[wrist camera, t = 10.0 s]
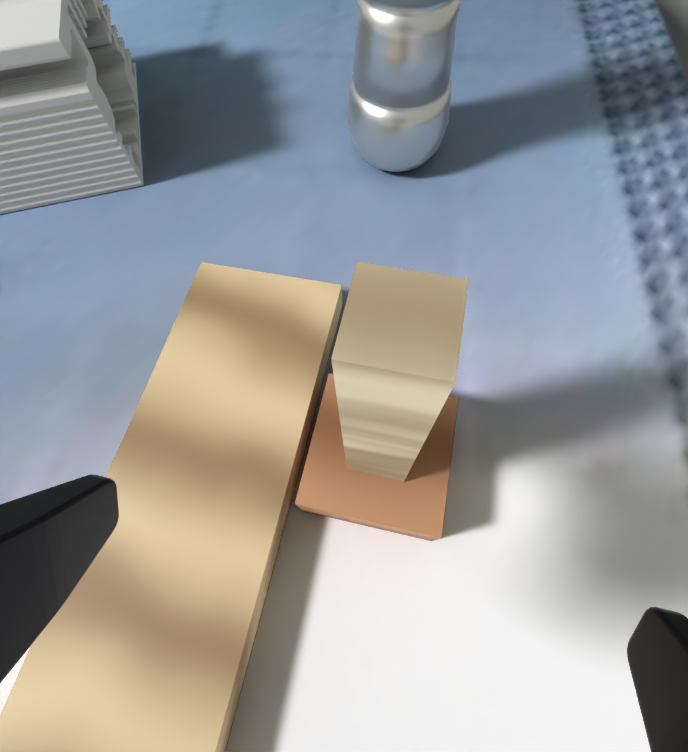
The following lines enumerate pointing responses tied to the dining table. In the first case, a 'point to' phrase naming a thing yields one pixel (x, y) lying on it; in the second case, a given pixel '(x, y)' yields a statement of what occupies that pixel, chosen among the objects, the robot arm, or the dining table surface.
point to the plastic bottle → (401, 80)
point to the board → (186, 529)
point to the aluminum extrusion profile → (65, 104)
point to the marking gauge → (389, 404)
